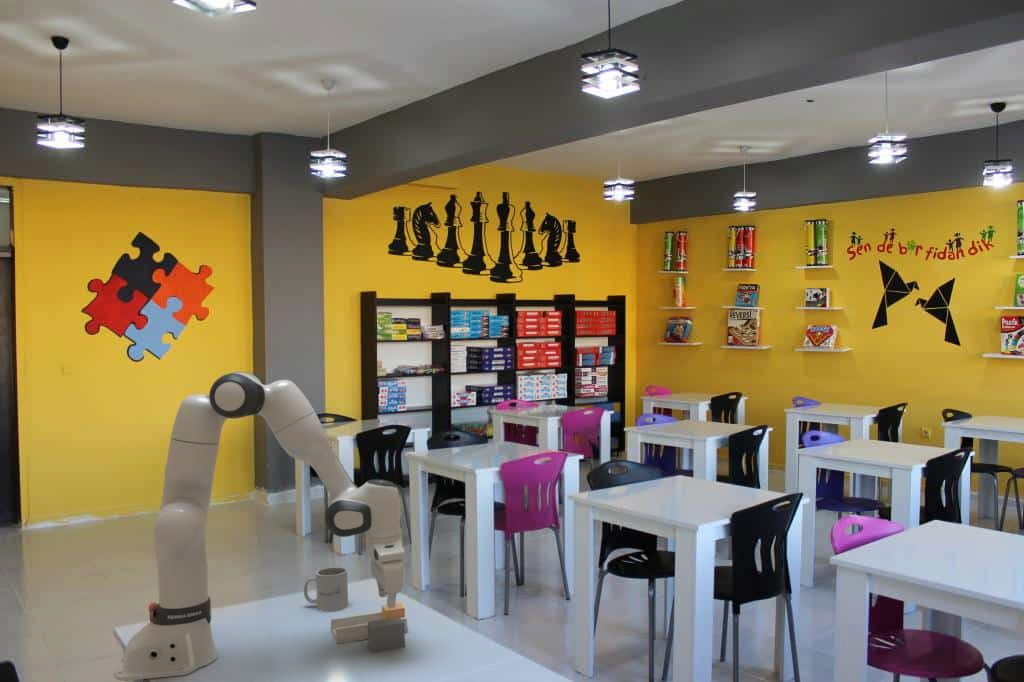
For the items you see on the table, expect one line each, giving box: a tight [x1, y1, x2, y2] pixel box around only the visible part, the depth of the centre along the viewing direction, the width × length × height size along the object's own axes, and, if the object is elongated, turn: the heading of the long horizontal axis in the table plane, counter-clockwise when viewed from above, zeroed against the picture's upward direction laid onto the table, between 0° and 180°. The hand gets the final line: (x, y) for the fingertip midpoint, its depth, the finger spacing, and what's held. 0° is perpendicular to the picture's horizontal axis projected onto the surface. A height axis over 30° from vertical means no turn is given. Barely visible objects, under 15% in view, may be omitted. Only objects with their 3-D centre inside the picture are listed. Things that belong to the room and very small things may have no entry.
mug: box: [303, 566, 349, 613], centre depth 232 cm, size 12×9×10 cm
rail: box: [330, 602, 409, 645], centre depth 210 cm, size 18×10×6 cm, turn 111°
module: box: [367, 617, 406, 654], centre depth 199 cm, size 8×5×6 cm, turn 111°
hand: (387, 601), depth 200 cm, fingers open, 8 cm apart
